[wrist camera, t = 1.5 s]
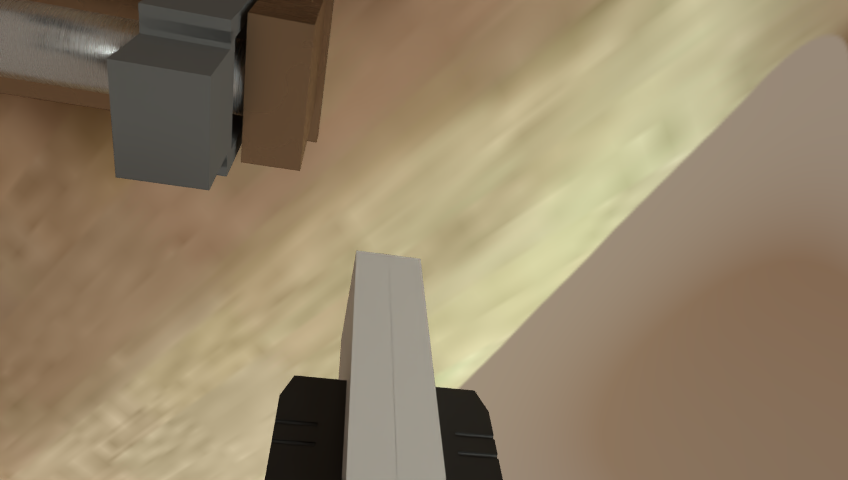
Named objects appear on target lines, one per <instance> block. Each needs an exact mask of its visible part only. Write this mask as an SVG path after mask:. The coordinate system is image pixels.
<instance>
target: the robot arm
mask: <svg viewBox="0 0 848 480" xmlns="http://www.w3.org/2000/svg"><path fill="white" fill-rule="evenodd" d="M265 480H503V479H502V474H501V469H500V465H499V460H498V459H497V450H496V445H495V440H493V431H492V426H491V421H490V416H489V412H488V410H487V409H486V407H485V406H484V404H483V403H482V401H481V400H480V398H479V397H478V395H477V394H476V393H475V391H473V390H462V389H451V388H440V387H435V380H434V371H433V363H432V354H431V345H430V337H429V328H428V320H427V311H426V302H425V294H424V285H423V277H422V268H421V259H419V258H411V257H403V256H395V255H387V254H380V253H372V252H364V251H356V256H355V262H354V268H353V274H352V280H351V286H350V292H349V297H348V303H347V309H346V315H345V321H344V327H343V333H342V339H341V352H340V366H339V380H337V379H326V378H316V377H305V376H294V377H293V378H292V380H291V381H290V382H289V384H288V385H287V386H286V388H285V389H284V390H283V392H282V393H281V394H280V397H279V402H278V408H277V414H276V419H275V425H274V431H273V436H272V443H271V448H270V453H269V459H268V465H267V470H266V476H265Z"/></svg>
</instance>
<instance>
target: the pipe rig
mask: <svg viewBox="0 0 848 480" xmlns="http://www.w3.org/2000/svg"><path fill="white" fill-rule="evenodd" d="M140 1H142V0H0V93H4V94H10V95H17V96H23V97H30V98H36V99H42V100H49V101H55V102H62V103H68V104H74V105H81V106H87V107H94V108H100V109H106V110H110V97H109V84H108V71H107V58H108V57H109V56H111V55H112V54H113V53H114V52H116V51H117V50H118V49H120V48H121V47H122V46H124V45H125V44H126V43H128V42H129V41H130V40H131V39H133V38H134V37H135V36H137V35H138V34H139V33H140V32H139V11H138V3H139V2H140ZM333 3H334V0H257V2H256V3H255V4H254V5H253V7H252V8H251V9H250V10H249V12H248V17H247V40H245V39H239V38H235V56H234V85H233V114H236V115H242V116H243V130H242V152H241V162H243V163H250V164H257V165H263V166H270V167H277V168H284V169H290V170H297V171H300V169H301V164H302V160H303V156H304V151H305V147H306V143H307V141H311V142H317V138H318V132H319V124H320V115H321V106H322V98H323V89H324V80H325V72H326V63H327V55H328V46H329V37H330V29H331V20H332V11H333Z"/></svg>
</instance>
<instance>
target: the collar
mask: <svg viewBox="0 0 848 480" xmlns="http://www.w3.org/2000/svg"><path fill="white" fill-rule="evenodd" d="M256 2H257V0H142V1H140V2H139V3H138V11H139V32H140V33H139V34H138V35H137V36H135V37H134V38H133V39H131V40H130V41H129V42H128V43H126V44H125V45H124V46H122V47H121V48H120V49H118V50H117V51H116V52H114V53H113V54H112V55H111V56H109V57H108V58H107V71H108V84H109V97H110V110H111V122H112V135H113V148H114V161H115V174H116V177H117V178H124V179H132V180H139V181H146V182H153V183H160V184H168V185H175V186H182V187H189V188H196V189H204V190H210V188H211V186H212V183H213V181H214V179H215V177H216V175H220V176H227V174H228V172H229V170H230V168H231V166H232V163H233V161H234V159H235V157H236V155H237V153H238V150H239V148H240V146H241V144H242V130H243V116H242V115H236V114H233V85H234V56H235V38H239V39H245V40H247V17H248V12H249V10H250V9H251V8H252V7H253V5H254V4H255V3H256Z"/></svg>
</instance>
